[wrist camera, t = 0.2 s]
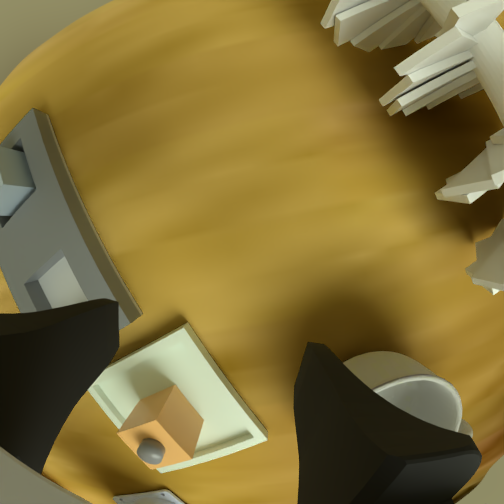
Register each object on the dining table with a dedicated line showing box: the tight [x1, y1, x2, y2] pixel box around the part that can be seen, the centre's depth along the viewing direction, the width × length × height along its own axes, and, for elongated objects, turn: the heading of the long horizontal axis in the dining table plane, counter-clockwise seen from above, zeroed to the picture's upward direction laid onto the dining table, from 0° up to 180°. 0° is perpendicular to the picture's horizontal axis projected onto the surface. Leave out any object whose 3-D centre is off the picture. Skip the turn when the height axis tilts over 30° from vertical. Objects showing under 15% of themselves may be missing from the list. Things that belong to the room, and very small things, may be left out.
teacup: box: [343, 351, 473, 438], centre depth 17 cm, size 14×11×8 cm
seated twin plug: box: [0, 146, 36, 216], centre depth 17 cm, size 4×4×6 cm
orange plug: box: [117, 384, 204, 470], centre depth 19 cm, size 4×4×6 cm
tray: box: [88, 322, 268, 473], centre depth 21 cm, size 12×12×1 cm
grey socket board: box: [0, 108, 143, 330], centre depth 20 cm, size 10×20×2 cm, turn 31°
